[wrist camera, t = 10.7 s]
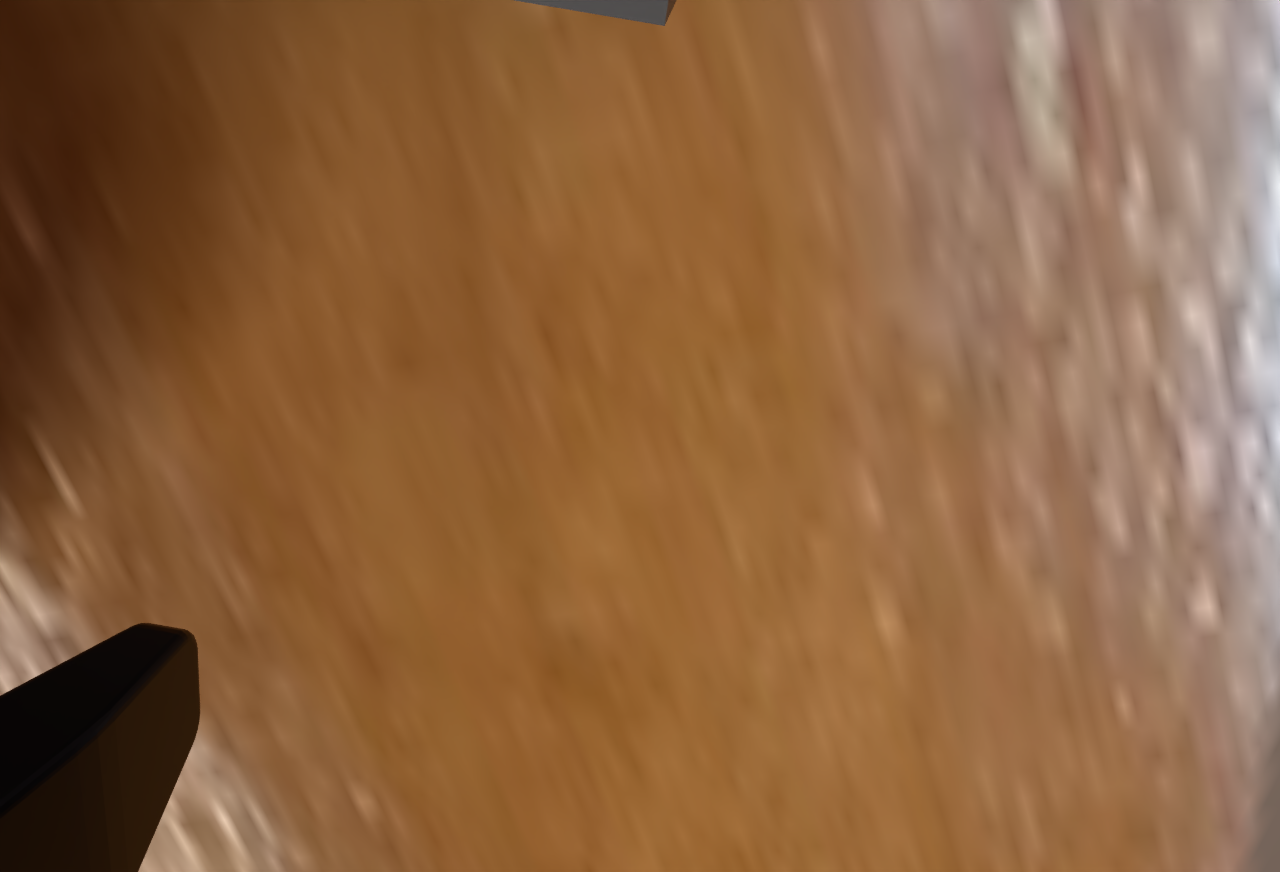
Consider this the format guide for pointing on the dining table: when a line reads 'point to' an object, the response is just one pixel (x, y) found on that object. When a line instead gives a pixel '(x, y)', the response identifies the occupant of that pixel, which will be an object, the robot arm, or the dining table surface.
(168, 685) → the robot arm
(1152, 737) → the dining table surface
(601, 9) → the serving tray
